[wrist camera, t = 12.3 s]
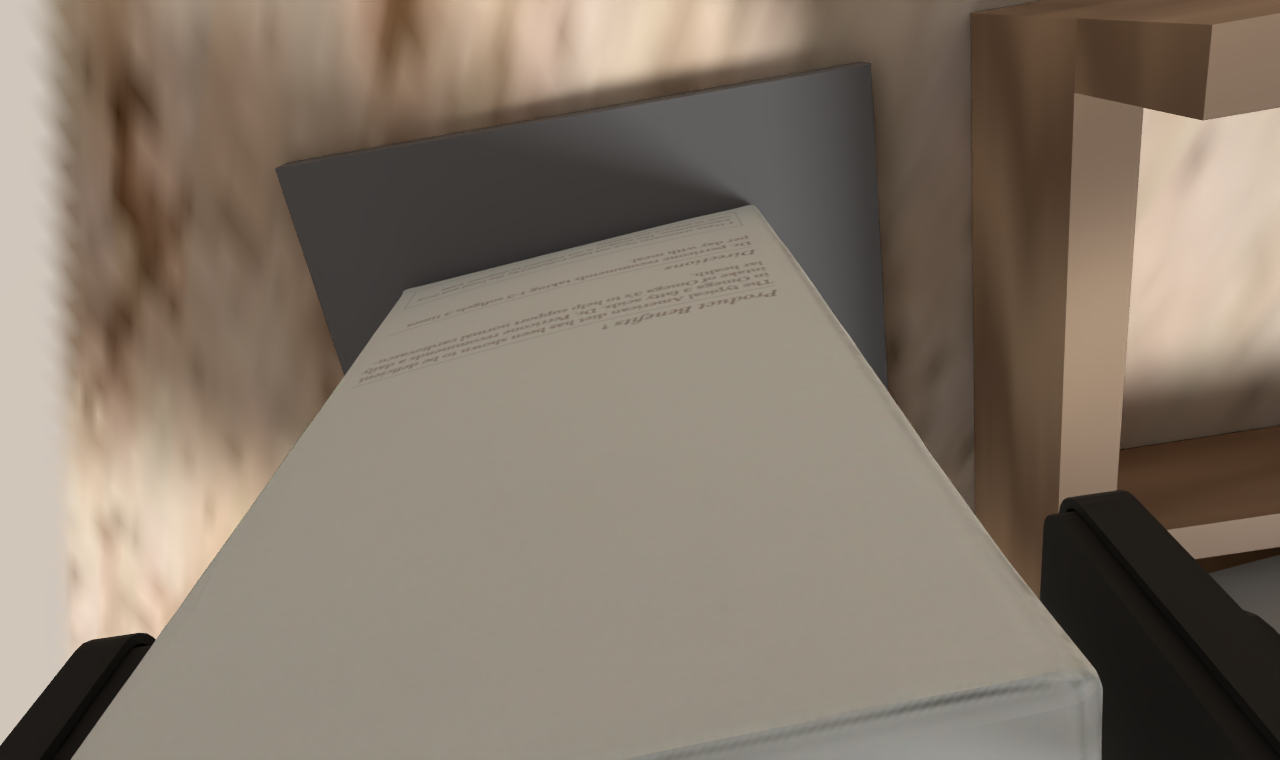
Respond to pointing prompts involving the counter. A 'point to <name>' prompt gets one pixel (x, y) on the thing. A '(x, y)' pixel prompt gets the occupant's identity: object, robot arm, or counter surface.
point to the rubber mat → (603, 195)
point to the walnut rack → (1095, 262)
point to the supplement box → (611, 544)
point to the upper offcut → (1254, 587)
